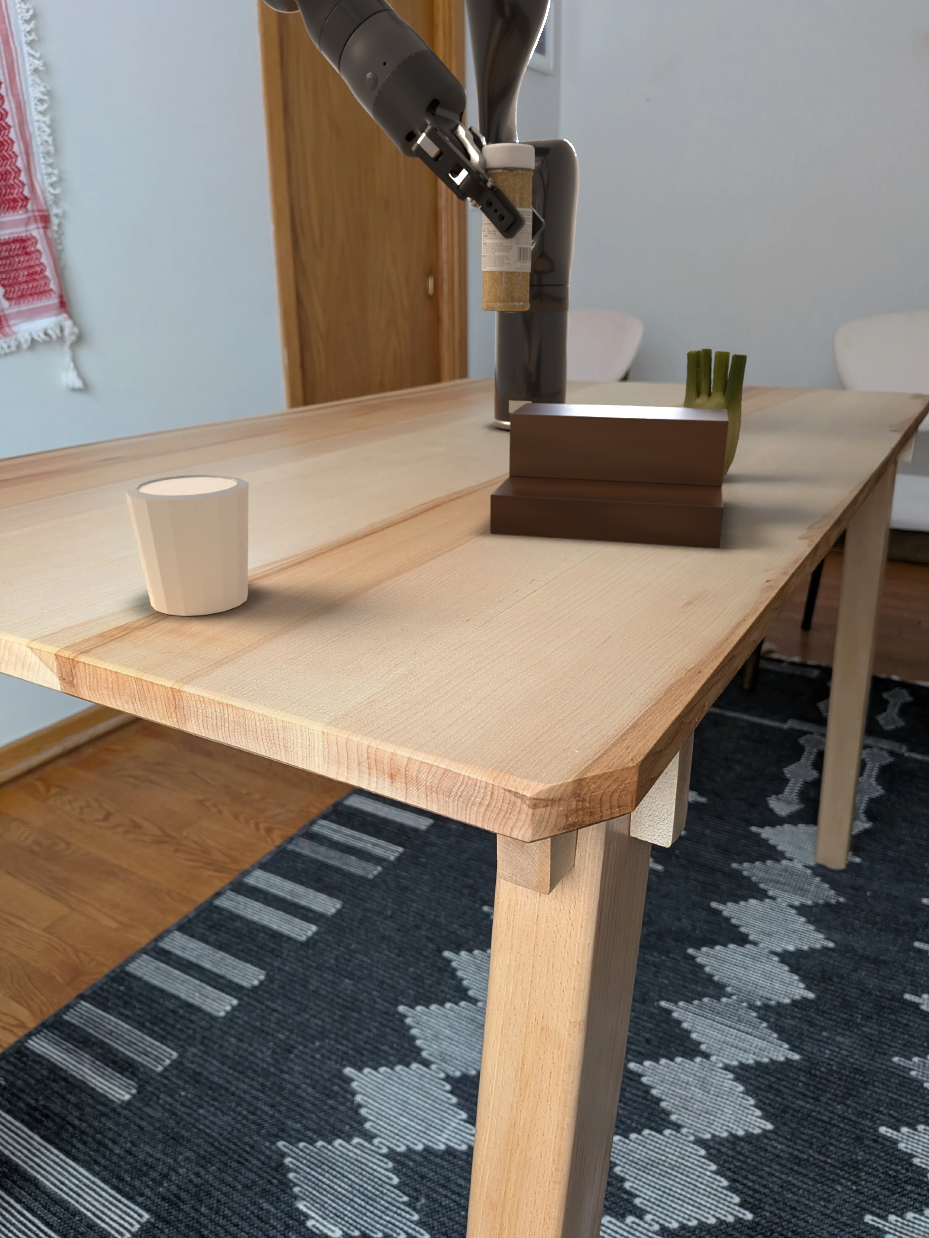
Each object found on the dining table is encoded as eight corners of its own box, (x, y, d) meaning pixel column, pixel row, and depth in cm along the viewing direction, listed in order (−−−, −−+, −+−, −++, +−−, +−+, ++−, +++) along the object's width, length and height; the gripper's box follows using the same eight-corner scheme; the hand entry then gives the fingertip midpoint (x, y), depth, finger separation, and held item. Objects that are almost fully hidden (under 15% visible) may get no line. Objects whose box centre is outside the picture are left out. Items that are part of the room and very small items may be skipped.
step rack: (524, 494, 82) (526, 402, 79) (717, 504, 78) (726, 409, 75) (489, 533, 69) (490, 426, 66) (719, 548, 65) (730, 435, 62)
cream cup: (163, 581, 58) (149, 472, 56) (270, 582, 58) (261, 473, 55) (121, 619, 52) (104, 497, 49) (242, 620, 51) (230, 498, 49)
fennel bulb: (741, 481, 86) (755, 350, 82) (697, 485, 85) (709, 351, 81) (705, 470, 91) (717, 346, 87) (663, 473, 90) (673, 347, 86)
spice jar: (507, 309, 86) (510, 150, 81) (540, 311, 82) (546, 145, 78) (469, 310, 83) (470, 145, 78) (502, 312, 80) (505, 140, 75)
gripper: (389, 28, 72) (528, 192, 72) (464, 64, 84) (583, 204, 84) (334, 109, 76) (466, 264, 76) (414, 132, 88) (527, 266, 88)
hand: (527, 232), depth 80 cm, fingers closed on spice jar, 4 cm apart
